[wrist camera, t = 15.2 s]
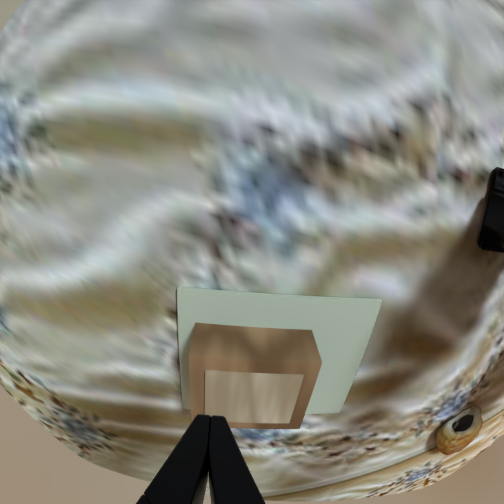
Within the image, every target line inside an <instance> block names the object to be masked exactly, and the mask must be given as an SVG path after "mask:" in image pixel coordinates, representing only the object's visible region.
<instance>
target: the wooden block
mask: <svg viewBox="0 0 504 504" xmlns="http://www.w3.org/2000/svg"><path fill="white" fill-rule="evenodd" d="M321 365H322V360H321V357H320V354H319V351H318V348H317V345H316V341H315V338H314V335H313V332H312V330H302V329H279V328H261V327H246V326H232V325H219V324H208V323H197V322H196V323H195V328H194V333H193V338H192V343H191V347H190V352H189V382H190V407H191V423H192V421H193V420H194V418H195V416H196V415H197V414H207V415H210V416H212V415H219V416H224V417H225V418H226V420H227V422H228V424H229V427H230V428H252V429H300V426H301V423H302V421H303V418H304V415H305V412H306V410H307V407H308V404H309V401H310V398H311V395H312V392H313V389H314V386H315V383H316V380H317V377H318V374H319V371H320V368H321Z"/></svg>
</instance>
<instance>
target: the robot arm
mask: <svg viewBox="0 0 504 504" xmlns="http://www.w3.org/2000/svg"><path fill="white" fill-rule="evenodd" d="M483 242H484V243H483ZM478 246H479V248H481V249H483V250H489V251H496V252H503V253H504V169H502V168H499V167H496V168H495V169H494V173H493V178H492V184H491V189H490V194H489V199H488V204H487V208H486V213H485V217H484V221H483V225H482V229H481V232H480V236H479V240H478ZM208 472H209V486H210V496H211V504H265V502H264V500H263V498H262V496H261V494H260V492H259V490H258V488H257V486H256V483H255V481H254V479H253V477H252V475H251V473H250V471H249V469H248V467H247V465H246V462H245V460H244V458H243V456H242V454H241V452H240V449H239V447H238V445H237V443H236V440H235V438H234V436H233V434H232V431H231V429H230V427H229V424H228V422H227V420H226V418H225V417H224V416H219V415H212V416H210V415H207V414H197V415H196V416H195V418H194V420H193V421H192V423H191V424H190V426H189V427H188V429H187V430H186V432H185V433H184V435H183V436H182V438H181V439H180V441H179V442H178V444H177V445H176V447H175V448H174V450H173V451H172V453H171V454H170V456H169V457H168V459H167V460H166V461H165V463H164V464H163V466H162V467H161V469H160V470H159V472H158V473H157V475H156V476H155V477H154V479H153V480H152V482H151V483H150V485H149V486H148V488H147V489H146V490H145V492H144V495H142V496H141V497H140V499H139V500H138V502H137V503H136V504H203V500H204V495H205V490H206V485H207V480H208Z"/></svg>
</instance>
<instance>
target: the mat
mask: <svg viewBox="0 0 504 504" xmlns="http://www.w3.org/2000/svg"><path fill="white" fill-rule="evenodd" d="M381 303H382V301H381V300H380V299H369V298H342V297H320V296H301V295H283V294H267V293H252V292H238V291H225V290H212V289H200V288H189V287H178V288H177V309H178V339H179V360H180V377H181V391H182V404H183V409H190V410H191V407H190V382H189V352H190V347H191V343H192V338H193V333H194V328H195V323H196V322H197V323H208V324H219V325H232V326H246V327H261V328H279V329H302V330H312V332H313V335H314V338H315V341H316V345H317V348H318V351H319V354H320V357H321V360H322V365H321V368H320V371H319V374H318V377H317V380H316V383H315V386H314V389H313V392H312V395H311V398H310V401H309V404H308V407H307V410H306V412H305V414H319V413H337V412H340V411H341V408H342V406H343V404H344V402H345V399H346V397H347V395H348V392H349V390H350V388H351V385H352V383H353V380H354V378H355V376H356V373H357V371H358V368H359V366H360V363H361V360H362V358H363V355H364V352H365V350H366V347H367V344H368V342H369V339H370V336H371V333H372V330H373V327H374V325H375V322H376V319H377V316H378V313H379V309H380V306H381Z"/></svg>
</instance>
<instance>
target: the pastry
mask: <svg viewBox="0 0 504 504" xmlns="http://www.w3.org/2000/svg"><path fill="white" fill-rule="evenodd" d="M481 427H482V418H481V408H480V407H476V406H472V407H469V408H467V409H465V410H464V411H462V412H461V413H459V414H458V415H456V416H455V417H453V418H451V419H450V420H448V421H446V422H445V423H444V424H443V425H442V426H441V427H440V428H439V430H438V431H437V433H436V443H437V448H438V449H439V451H440V452H441V453H443V454H445V455H450V454H452V453H455V452H458V451H461V450H462V449H463V448H465V447H466V446H467V445H469V443H471V442H472V441H473V440H474V438H476V437H477V435H478V434H479V430H480V429H481Z"/></svg>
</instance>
